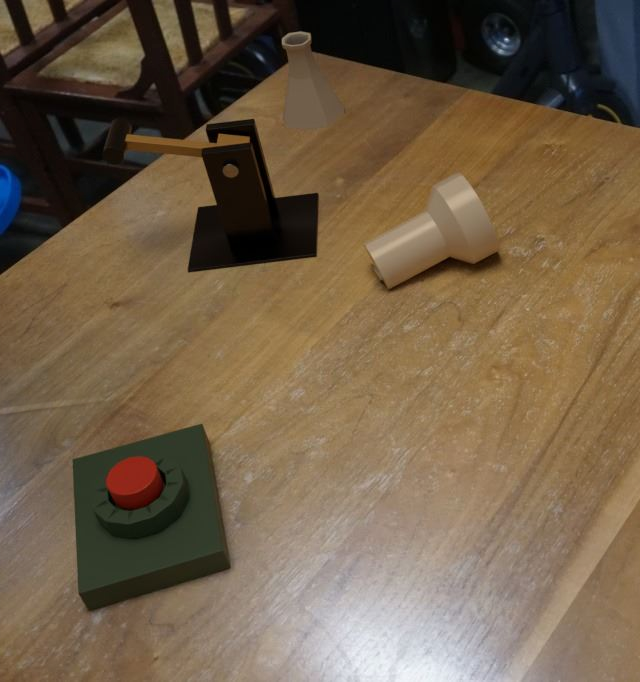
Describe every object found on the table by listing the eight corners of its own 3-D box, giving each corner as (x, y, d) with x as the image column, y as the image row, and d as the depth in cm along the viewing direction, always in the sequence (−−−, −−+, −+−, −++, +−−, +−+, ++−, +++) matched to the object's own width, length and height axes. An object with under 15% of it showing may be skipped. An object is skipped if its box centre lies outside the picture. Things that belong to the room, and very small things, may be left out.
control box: (81, 477, 86) (63, 443, 83) (209, 441, 88) (196, 407, 85) (88, 611, 77) (69, 578, 74) (231, 568, 79) (217, 534, 76)
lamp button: (112, 479, 81) (104, 464, 80) (161, 465, 81) (154, 450, 80) (114, 516, 78) (107, 500, 77) (165, 501, 79) (158, 486, 78)
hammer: (102, 167, 97) (101, 143, 95) (111, 136, 100) (110, 113, 99) (246, 180, 99) (247, 158, 98) (250, 150, 103) (251, 128, 101)
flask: (292, 103, 125) (273, 21, 118) (353, 104, 124) (338, 22, 117) (273, 138, 120) (252, 55, 113) (337, 139, 119) (320, 56, 112)
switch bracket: (190, 279, 103) (154, 175, 95) (201, 216, 110) (167, 114, 102) (318, 264, 103) (292, 158, 95) (320, 202, 111) (296, 99, 103)
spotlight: (514, 261, 99) (484, 188, 95) (404, 322, 98) (368, 250, 93) (482, 227, 106) (452, 157, 101) (378, 284, 104) (343, 215, 100)
